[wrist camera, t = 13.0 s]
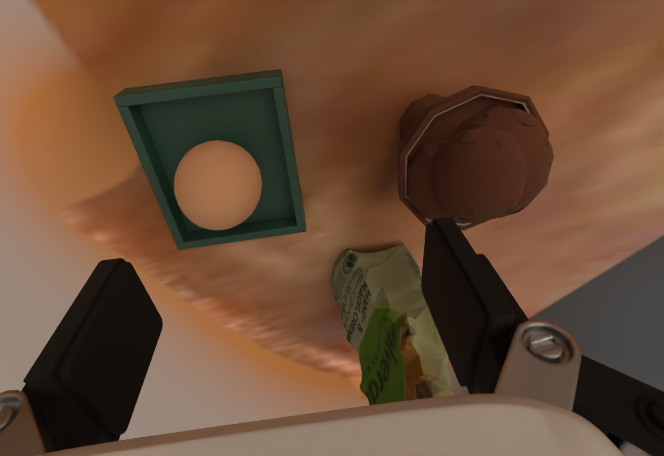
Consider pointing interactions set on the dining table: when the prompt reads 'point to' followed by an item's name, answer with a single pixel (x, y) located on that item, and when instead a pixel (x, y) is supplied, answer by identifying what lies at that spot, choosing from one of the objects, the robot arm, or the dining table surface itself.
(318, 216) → the dining table surface
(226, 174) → the egg
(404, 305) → the pouch
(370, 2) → the dining table surface
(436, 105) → the ice cream bowl
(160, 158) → the tray
